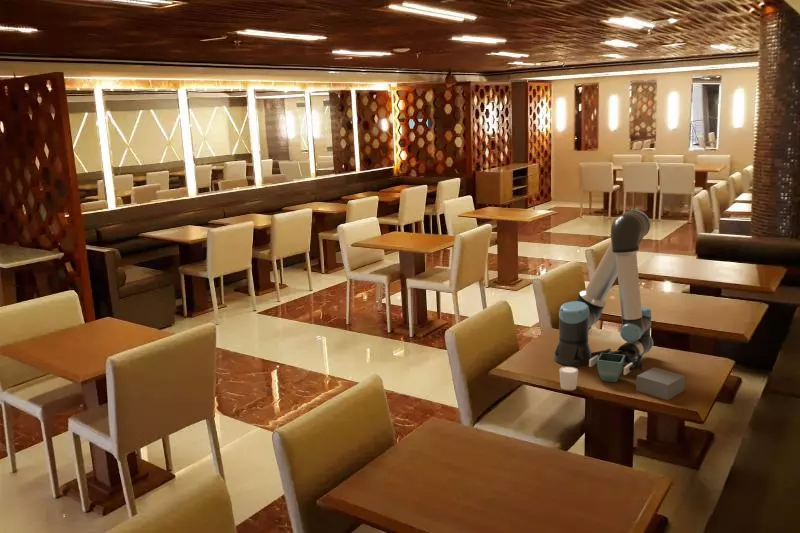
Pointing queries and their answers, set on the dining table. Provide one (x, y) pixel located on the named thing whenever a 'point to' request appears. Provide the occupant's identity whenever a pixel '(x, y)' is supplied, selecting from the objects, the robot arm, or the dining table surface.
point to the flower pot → (610, 366)
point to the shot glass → (568, 378)
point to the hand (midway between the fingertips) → (606, 367)
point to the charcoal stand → (660, 383)
